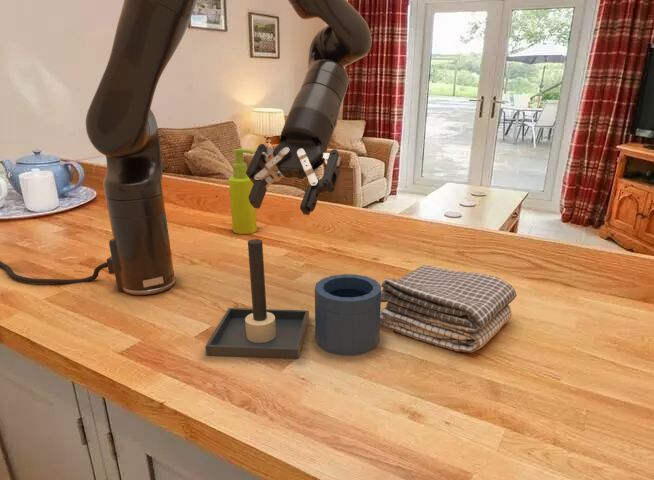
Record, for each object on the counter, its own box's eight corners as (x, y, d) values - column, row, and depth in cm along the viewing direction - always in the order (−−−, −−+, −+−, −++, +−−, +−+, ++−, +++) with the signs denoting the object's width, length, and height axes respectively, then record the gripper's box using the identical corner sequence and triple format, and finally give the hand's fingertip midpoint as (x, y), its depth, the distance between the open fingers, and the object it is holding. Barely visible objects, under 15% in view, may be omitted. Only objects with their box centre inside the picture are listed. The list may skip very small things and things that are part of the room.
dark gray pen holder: (312, 357, 69) (311, 299, 66) (319, 325, 78) (318, 273, 74) (379, 359, 69) (381, 302, 65) (378, 327, 78) (380, 275, 74)
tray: (206, 358, 69) (205, 346, 68) (229, 318, 80) (228, 307, 79) (298, 361, 68) (298, 349, 67) (309, 321, 79) (308, 310, 78)
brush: (243, 342, 72) (235, 246, 66) (250, 328, 76) (243, 235, 70) (273, 343, 72) (267, 246, 66) (278, 329, 76) (273, 236, 70)
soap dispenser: (255, 235, 120) (250, 151, 112) (229, 233, 121) (221, 150, 113) (264, 228, 125) (259, 148, 118) (238, 226, 127) (232, 147, 119)
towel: (479, 361, 69) (486, 311, 66) (369, 324, 78) (370, 279, 75) (513, 320, 80) (521, 276, 77) (414, 292, 90) (416, 252, 87)
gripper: (263, 103, 77) (226, 190, 72) (346, 106, 72) (313, 200, 67) (281, 134, 84) (248, 216, 78) (359, 139, 79) (330, 227, 73)
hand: (278, 208), depth 73 cm, fingers open, 8 cm apart
